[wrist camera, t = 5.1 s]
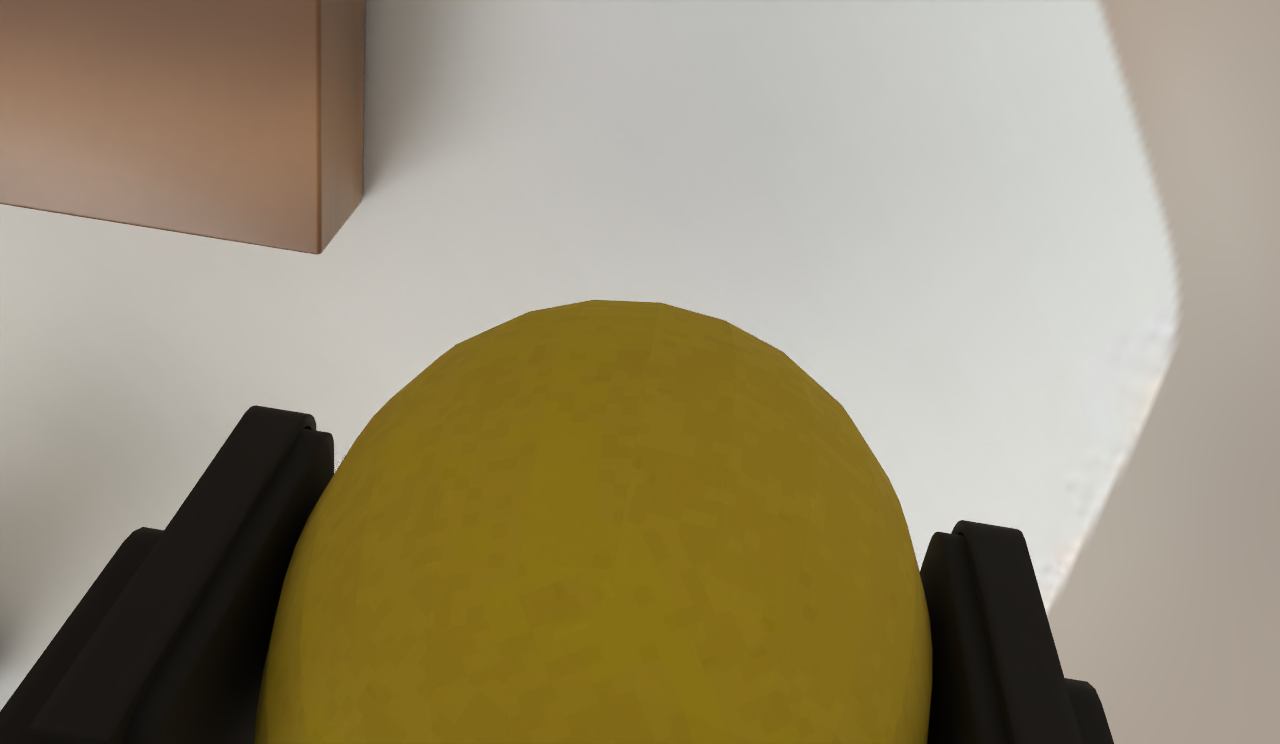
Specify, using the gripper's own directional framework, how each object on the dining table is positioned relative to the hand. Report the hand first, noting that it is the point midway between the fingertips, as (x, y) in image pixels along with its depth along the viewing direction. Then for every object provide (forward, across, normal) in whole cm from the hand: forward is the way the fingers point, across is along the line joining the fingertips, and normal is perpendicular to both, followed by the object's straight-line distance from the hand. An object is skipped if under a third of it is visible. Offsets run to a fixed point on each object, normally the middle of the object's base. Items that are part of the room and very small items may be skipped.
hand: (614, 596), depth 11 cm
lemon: (+3, 0, 0) cm, 3 cm away
